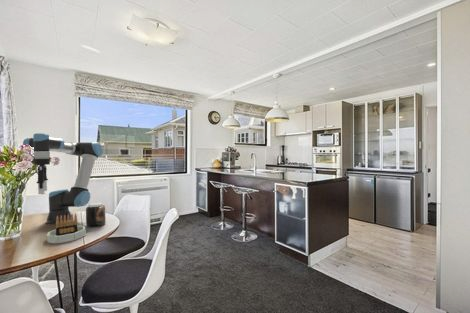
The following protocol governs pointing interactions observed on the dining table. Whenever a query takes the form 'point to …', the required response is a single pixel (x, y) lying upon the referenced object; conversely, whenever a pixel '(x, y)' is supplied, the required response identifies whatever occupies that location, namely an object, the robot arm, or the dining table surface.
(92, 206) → the jar
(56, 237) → the octagonal tray
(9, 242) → the dining table surface
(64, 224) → the ammunition clip
